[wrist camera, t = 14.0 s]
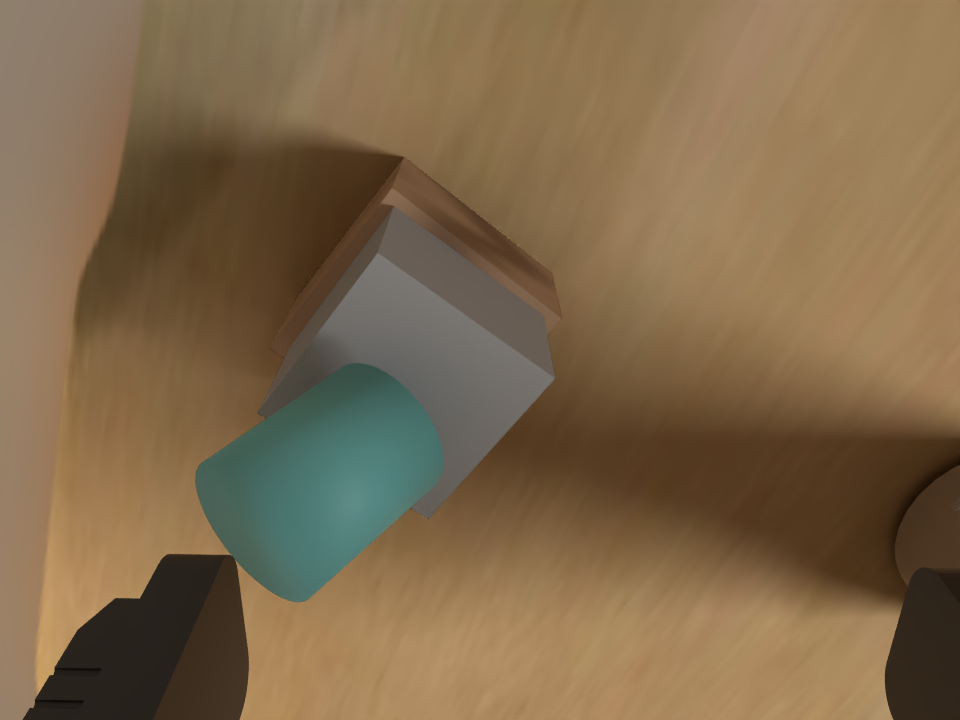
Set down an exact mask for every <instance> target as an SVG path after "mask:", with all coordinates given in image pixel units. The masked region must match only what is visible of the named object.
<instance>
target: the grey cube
mask: <svg viewBox="0 0 960 720" xmlns="http://www.w3.org/2000/svg"><path fill="white" fill-rule="evenodd" d="M352 363H362V364H367V365H371V366H374V367H376V368H379V369H380V370H382V371H384V372H386V373H388V374H389V375H391V376H392V377H394V378H395V379H396V380H397V381H399V382H400V383H401V384H402V385H403V386H404V387H406V388H407V389H408V390H409V391H410V392H411V394H412V395H413V396H414V397H415V398H416V399H417V400H418V402H419V403H420V404H421V405H422V407H423V408H424V410H425V411H426V413H427V414H428V416H429V418H430V419H431V421H432V423H433V425H434V427H435V429H436V431H437V434H438V436H439V439H440V442H441V446H442V450H443V458H444V467H443V473H442V476H441V478H440V480H439V482H438V483H437V484H436V485H435V486H434V487H433V488H432V489H431V490H430V491H429V492H427V493H426V494H425V495H424V496H423V497H422V498H421V499H420V500H419V501H417V502H416V503H415V504H414V505H413V506H412V507H411V509H413V510H414V511H416V512H417V513H419V514H421V515H422V516H424V517H425V518H427V519H429V518H430V517H431V516H432V515H433V514H434V512H435V511H436V510H437V509H438V508H439V507H440V506H441V505H442V504H443V502H444V501H445V500H446V499H447V498H448V497H449V496H450V495H451V494H452V492H453V491H454V490H455V489H456V488H457V487H458V486H459V485H460V484H461V482H462V481H463V480H464V479H465V478H466V477H467V476H468V475H469V474H470V473H471V471H472V470H473V469H474V468H475V467H476V466H477V465H478V464H479V463H480V461H481V460H482V459H483V458H484V457H485V456H486V455H487V454H488V453H489V451H490V450H491V449H492V448H493V447H494V446H495V445H496V444H497V443H498V441H499V440H500V439H501V438H502V437H503V436H504V435H505V434H506V433H507V431H508V430H509V429H510V428H511V427H512V426H513V425H514V424H515V423H516V421H517V420H518V419H519V418H520V417H521V416H522V415H523V414H524V413H525V411H526V410H527V409H528V408H529V407H530V406H531V405H532V404H533V403H534V401H535V400H536V399H537V398H538V397H539V396H540V395H541V394H542V393H543V391H544V390H545V389H546V388H547V387H548V386H549V385H550V384H551V383H552V382H553V380H554V379H555V375H554V369H553V364H552V358H551V352H550V347H549V341H548V335H547V330H546V324H545V318H544V315H542V314H541V313H540V312H538V311H537V310H536V309H534V308H533V307H532V306H530V305H529V304H527V303H526V302H525V301H523V300H522V299H521V298H519V297H518V296H516V295H515V294H514V293H512V292H511V291H510V290H508V289H507V288H506V287H504V286H503V285H501V284H500V283H499V282H497V281H496V280H495V279H493V278H492V277H490V276H489V275H488V274H486V273H485V272H484V271H482V270H481V269H479V268H478V267H477V266H475V265H474V264H473V263H471V262H470V261H469V260H467V259H466V258H464V257H463V256H462V255H460V254H459V253H458V252H456V251H455V250H453V249H452V248H451V247H449V246H448V245H447V244H445V243H444V242H443V241H441V240H440V239H438V238H437V237H436V236H434V235H433V234H432V233H430V232H429V231H427V230H426V229H425V228H423V227H422V226H421V225H419V224H418V223H416V222H415V221H414V220H412V219H411V218H410V217H408V216H407V215H406V214H404V213H403V212H401V211H400V210H399V209H397V208H396V207H395V206H394V207H393V208H392V209H391V211H390V212H389V213H388V215H387V216H386V218H385V219H384V220H383V222H382V223H381V224H380V226H379V227H378V228H377V230H376V231H375V232H374V234H373V235H372V236H371V238H370V239H369V240H368V242H367V243H366V245H365V246H364V247H363V249H362V250H361V251H360V253H359V254H358V255H357V257H356V258H355V259H354V261H353V262H352V263H351V265H350V266H349V268H348V269H347V270H346V272H345V273H344V274H343V276H342V277H341V278H340V280H339V281H338V282H337V284H336V285H335V286H334V288H333V289H332V291H331V292H330V293H329V295H328V296H327V297H326V299H325V300H324V301H323V303H322V304H321V305H320V307H319V308H318V309H317V311H316V312H315V313H314V315H313V316H312V318H311V319H310V320H309V322H308V323H307V324H306V326H305V327H304V328H303V330H302V331H301V332H300V334H299V335H298V336H297V338H296V339H295V341H294V342H293V343H292V345H291V346H290V348H289V350H288V352H287V354H286V356H285V358H284V360H283V362H282V364H281V366H280V368H279V370H278V372H277V375H276V377H275V379H274V381H273V383H272V385H271V387H270V389H269V391H268V393H267V395H266V397H265V399H264V401H263V403H262V405H261V407H260V409H259V411H258V414H260V415H261V416H263V417H265V418H266V419H267V418H268V417H270V416H271V415H273V414H274V413H276V412H277V411H279V410H280V409H281V408H283V407H284V406H286V405H287V404H289V403H290V402H292V401H293V400H295V399H296V398H298V397H299V396H301V395H302V394H303V393H305V392H306V391H308V390H309V389H311V388H312V387H314V386H315V385H317V384H318V383H320V382H321V381H323V380H324V379H325V378H327V377H328V376H330V375H331V374H333V373H334V372H336V371H337V370H339V369H340V368H342V367H343V366H345V365H348V364H352Z"/></svg>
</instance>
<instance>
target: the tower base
mask: <svg viewBox="0 0 960 720" xmlns="http://www.w3.org/2000/svg"><path fill="white" fill-rule="evenodd" d="M394 206H395V207H396V208H397V209H399V210H400V211H401V212H403V213H404V214H406V215H407V216H408V217H410V218H411V219H412V220H414V221H415V222H416V223H418V224H419V225H421V226H422V227H423V228H425V229H426V230H427V231H429V232H430V233H432V234H433V235H434V236H436V237H437V238H438V239H440V240H441V241H443V242H444V243H445V244H447V245H448V246H449V247H451V248H452V249H453V250H455V251H456V252H458V253H459V254H460V255H462V256H463V257H464V258H466V259H467V260H469V261H470V262H471V263H473V264H474V265H475V266H477V267H478V268H479V269H481V270H482V271H484V272H485V273H486V274H488V275H489V276H490V277H492V278H493V279H495V280H496V281H497V282H499V283H500V284H501V285H503V286H504V287H506V288H507V289H508V290H510V291H511V292H512V293H514V294H515V295H516V296H518V297H519V298H521V299H522V300H523V301H525V302H526V303H527V304H529V305H530V306H532V307H533V308H534V309H536V310H537V311H538V312H540V313H541V314H542V315H544V318H545V324H546V330H547V335H548V334H549V333H550V332H551V331H552V330H553V329H554V328H555V326H556V325H557V324H558V323H559V322H560V321H561V320H562V315H561V311H560V306H559V302H558V297H557V293H556V288H555V284H554V280H553V275H552V273H551V272H550V271H549V270H547V269H546V268H545V267H544V266H542V265H541V264H540V263H539V262H537V261H536V260H535V259H533V258H532V257H531V256H530V255H528V254H527V253H526V252H525V251H523V250H522V249H521V248H519V247H518V246H517V245H516V244H514V243H513V242H512V241H511V240H509V239H508V238H507V237H505V236H504V235H503V234H502V233H500V232H499V231H498V230H497V229H495V228H494V227H493V226H491V225H490V224H489V223H488V222H486V221H485V220H484V219H483V218H481V217H480V216H479V215H477V214H476V213H475V212H474V211H472V210H471V209H470V208H469V207H467V206H466V205H465V204H463V203H462V202H461V201H460V200H458V199H457V198H456V197H455V196H453V195H452V194H451V193H449V192H448V191H447V190H446V189H444V188H443V187H442V186H441V185H439V184H438V183H437V182H435V181H434V180H433V179H432V178H430V177H429V176H428V175H427V174H425V173H424V172H423V171H422V170H420V169H419V168H418V167H416V166H415V165H414V164H413V163H411V162H410V161H409V160H408V159H406V158H405V157H404V158H403V159H402V160H401V162H400V163H399V164H398V166H397V167H396V168H395V170H394V171H393V172H392V173H391V175H390V176H389V177H388V179H387V180H386V181H385V183H384V184H383V185H382V187H381V188H380V189H379V191H378V192H377V193H376V194H375V196H374V197H373V198H372V200H371V201H370V202H369V204H368V205H367V206H366V208H365V209H364V210H363V212H362V213H361V214H360V215H359V217H358V218H357V219H356V221H355V222H354V223H353V225H352V226H351V227H350V229H349V230H348V231H347V232H346V234H345V235H344V236H343V238H342V239H341V240H340V242H339V243H338V244H337V246H336V247H335V248H334V250H333V251H332V252H331V253H330V255H329V256H328V257H327V259H326V260H325V261H324V263H323V264H322V265H321V267H320V268H319V269H318V271H317V272H316V273H315V274H314V276H313V277H312V278H311V280H310V281H309V282H308V284H307V285H306V286H305V288H304V289H303V290H302V291H301V293H300V294H299V295H298V297H297V298H296V299H295V301H294V303H293V305H292V307H291V309H290V310H289V312H288V314H287V316H286V318H285V320H284V322H283V323H282V325H281V327H280V329H279V331H278V333H277V334H276V336H275V338H274V340H273V342H272V344H271V345H270V347H269V348H270V349H271V350H273V351H274V352H276V353H277V354H279V355H280V356H282V357H283V358H285V356H286V354H287V352H288V350H289V348H290V346H291V345H292V343H293V342H294V341H295V339H296V338H297V336H298V335H299V334H300V332H301V331H302V330H303V328H304V327H305V326H306V324H307V323H308V322H309V320H310V319H311V318H312V316H313V315H314V313H315V312H316V311H317V309H318V308H319V307H320V305H321V304H322V303H323V301H324V300H325V299H326V297H327V296H328V295H329V293H330V292H331V291H332V289H333V288H334V286H335V285H336V284H337V282H338V281H339V280H340V278H341V277H342V276H343V274H344V273H345V272H346V270H347V269H348V268H349V266H350V265H351V263H352V262H353V261H354V259H355V258H356V257H357V255H358V254H359V253H360V251H361V250H362V249H363V247H364V246H365V245H366V243H367V242H368V240H369V239H370V238H371V236H372V235H373V234H374V232H375V231H376V230H377V228H378V227H379V226H380V224H381V223H382V222H383V220H384V219H385V218H386V216H387V215H388V213H389V212H390V211H391V209H392V208H393V207H394Z"/></svg>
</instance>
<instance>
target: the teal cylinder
mask: <svg viewBox="0 0 960 720" xmlns="http://www.w3.org/2000/svg"><path fill="white" fill-rule="evenodd" d="M443 467H444V458H443V450H442V446H441V442H440V439H439V436H438V434H437V431H436V429H435V427H434V425H433V423H432V421H431V419H430V418H429V416H428V414H427V413H426V411H425V410H424V408H423V407H422V405H421V404H420V403H419V402H418V400H417V399H416V398H415V397H414V396H413V395H412V394H411V392H410V391H409V390H408V389H407V388H406V387H404V386H403V385H402V384H401V383H400V382H399V381H397V380H396V379H395V378H394V377H392V376H391V375H389V374H388V373H386V372H384V371H382V370H380V369H379V368H376V367H374V366H371V365H367V364H362V363H352V364H348V365H345V366H343V367H342V368H340V369H339V370H337V371H336V372H334V373H333V374H331V375H330V376H328V377H327V378H325V379H324V380H323V381H321V382H320V383H318V384H317V385H315V386H314V387H312V388H311V389H309V390H308V391H306V392H305V393H303V394H302V395H301V396H299V397H298V398H296V399H295V400H293V401H292V402H290V403H289V404H287V405H286V406H284V407H283V408H281V409H280V410H279V411H277V412H276V413H274V414H273V415H271V416H270V417H268V418H267V419H265V420H264V421H262V422H261V423H259V424H258V425H257V426H255V427H254V428H252V429H251V430H249V431H248V432H246V433H245V434H243V435H242V436H240V437H239V438H237V439H236V440H235V441H233V442H232V443H230V444H229V445H227V446H226V447H224V448H223V449H221V450H220V451H218V452H217V453H215V454H214V455H213V456H211V457H210V458H208V459H207V460H205V461H204V462H202V463H201V464H200V465H199V466H198V469H197V471H196V489H197V493H198V497H199V500H200V503H201V506H202V508H203V510H204V513H205V515H206V517H207V519H208V521H209V523H210V524H211V526H212V528H213V530H214V531H215V533H216V534H217V536H218V537H219V539H220V540H221V542H222V543H223V545H224V546H225V547H226V549H227V550H228V551H229V553H230V554H231V555H232V556H233V557H234V559H235V560H236V561H237V562H238V563H239V564H240V565H241V566H242V567H243V569H244V570H245V571H246V572H247V573H249V574H250V575H251V576H252V577H253V578H254V579H255V580H256V581H257V582H259V583H260V584H261V585H262V586H264V587H265V588H266V589H268V590H269V591H271V592H272V593H274V594H276V595H278V596H279V597H281V598H284V599H286V600H289V601H293V602H303V601H306V600H308V599H309V598H310V597H311V596H313V595H314V594H315V593H316V592H317V591H318V590H319V589H320V588H321V587H323V586H324V585H325V584H326V583H327V582H328V581H329V580H330V579H332V578H333V577H334V576H335V575H336V574H337V573H338V572H339V571H340V570H342V569H343V568H344V567H345V566H346V565H347V564H348V563H349V562H350V561H352V560H353V559H354V558H355V557H356V556H357V555H358V554H359V553H361V552H362V551H363V550H364V549H365V548H366V547H367V546H368V545H369V544H371V543H372V542H373V541H374V540H375V539H376V538H377V537H378V536H379V535H381V534H382V533H383V532H384V531H385V530H386V529H387V528H388V527H390V526H391V525H392V524H393V523H394V522H395V521H396V520H397V519H398V518H400V517H401V516H402V515H403V514H404V513H405V512H406V511H407V510H408V509H410V508H411V507H412V506H413V505H414V504H415V503H416V502H417V501H419V500H420V499H421V498H422V497H423V496H424V495H425V494H426V493H427V492H429V491H430V490H431V489H432V488H433V487H434V486H435V485H436V484H437V483H438V482H439V480H440V478H441V476H442V473H443Z"/></svg>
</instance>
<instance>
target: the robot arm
mask: <svg viewBox="0 0 960 720" xmlns="http://www.w3.org/2000/svg"><path fill="white" fill-rule="evenodd" d="M895 561H896V564H897V567H898V570H899V573H900V576H901V578H902V579H903V581H904V582H905V584H906V585H907V587H908V589H907V592H906V596H905V599H904V603H903V606H902V610H901V614H900V617H899V621H898V624H897V628H896V631H895V635H894V639H893V642H892V646H891V649H890V653H889V656H888V660H887V664H886V669H885V690H886V697H887V701H888V705H889V709H890V712H891V715H892V717H893V720H960V465H958V466H956V467H954V468H953V469H951V470H950V471H948V472H946V473H945V474H943V475H942V476H940V477H939V478H937V479H936V480H935V481H934V482H932V483H931V484H930V485H929V486H928V487H927V488H926V489H925V490H924V491H923V492H921V493H920V494H919V496H918V497H917V498H916V499H915V501H914V502H913V503H912V505H911V506H910V507H909V509H908V510H907V512H906V514H905V516H904V518H903V520H902V522H901V524H900V526H899V528H898V533H897V537H896V542H895ZM248 672H249V656H248V647H247V639H246V632H245V624H244V616H243V608H242V601H241V593H240V585H239V577H238V570H237V565H236V562H235V559H234V558H233V556H231V555H193V554H167V555H166V556H164V557H163V558H162V560H161V561H160V563H159V564H158V566H157V568H156V570H155V572H154V574H153V575H152V577H151V579H150V581H149V583H148V585H147V586H146V588H145V590H144V592H143V594H142V596H141V597H140V599H132V598H115V599H114V600H113V601H112V602H110V603H109V604H108V605H107V606H106V607H104V608H103V609H102V610H101V611H100V612H99V613H97V614H96V615H95V616H94V617H93V618H91V619H90V620H89V621H88V622H87V623H85V624H84V625H83V626H82V627H81V628H79V629H78V630H77V632H76V634H75V635H74V637H73V638H72V640H71V642H70V643H69V645H68V647H67V648H66V650H65V651H64V653H63V655H62V656H61V658H60V660H59V661H58V663H57V665H56V666H55V672H54V675H50V676H49V678H48V679H47V681H46V682H45V684H44V686H43V687H42V689H41V691H40V692H39V694H38V696H37V697H36V699H35V705H34V708H30V709H29V710H28V712H27V713H26V715H25V717H24V718H23V720H239V719H240V716H241V713H242V710H243V706H244V702H245V697H246V691H247V684H248Z"/></svg>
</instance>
